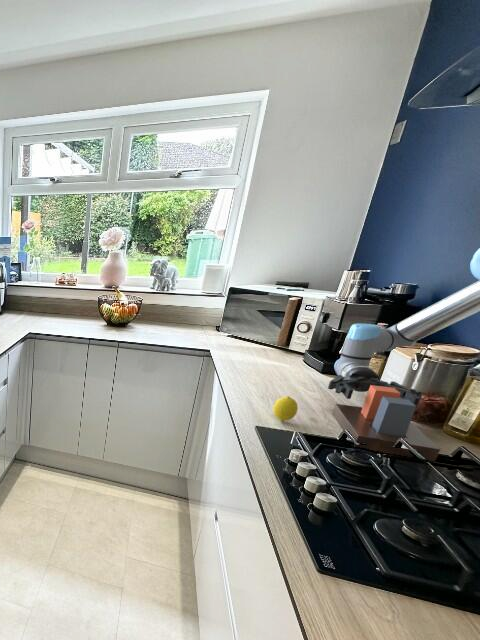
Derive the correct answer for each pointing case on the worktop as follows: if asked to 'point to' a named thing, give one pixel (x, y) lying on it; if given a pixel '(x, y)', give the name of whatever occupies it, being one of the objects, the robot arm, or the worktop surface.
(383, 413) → the pad
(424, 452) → the dock
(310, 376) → the worktop surface
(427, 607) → the worktop surface
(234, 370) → the worktop surface
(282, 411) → the lemon
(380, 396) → the pad
